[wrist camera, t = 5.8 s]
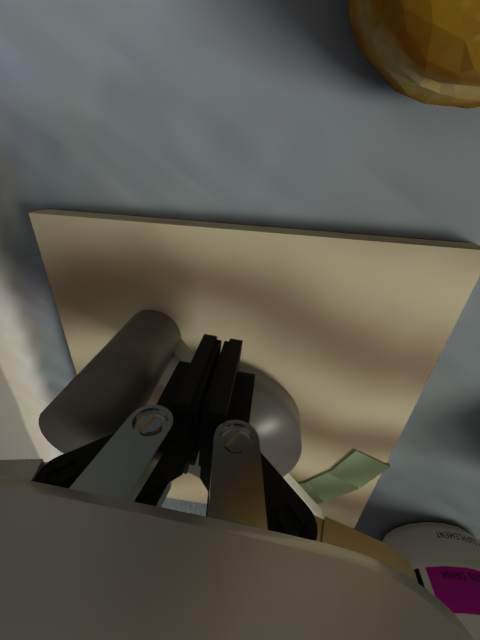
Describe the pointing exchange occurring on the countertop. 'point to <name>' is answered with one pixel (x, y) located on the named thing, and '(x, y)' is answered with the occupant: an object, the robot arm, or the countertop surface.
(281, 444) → the dark grey handled piece
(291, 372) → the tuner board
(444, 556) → the supplement can
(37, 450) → the countertop surface
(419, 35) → the bread
